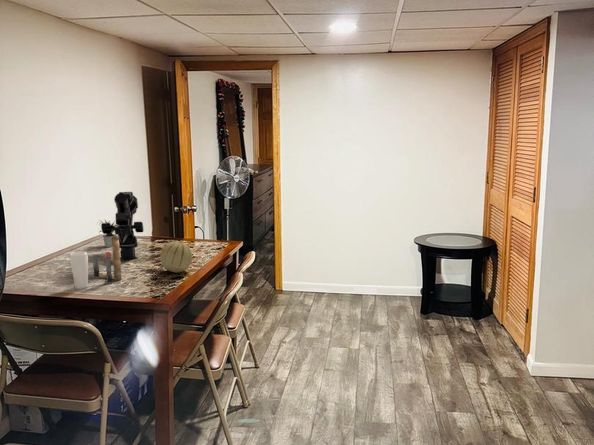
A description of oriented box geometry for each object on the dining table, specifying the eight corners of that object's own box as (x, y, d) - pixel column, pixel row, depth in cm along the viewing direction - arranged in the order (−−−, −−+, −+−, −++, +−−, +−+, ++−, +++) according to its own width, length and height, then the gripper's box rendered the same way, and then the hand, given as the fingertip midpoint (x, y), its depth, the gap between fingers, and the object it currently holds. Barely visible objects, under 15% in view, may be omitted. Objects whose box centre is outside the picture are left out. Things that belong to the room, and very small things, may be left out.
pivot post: (97, 274, 241) (96, 253, 239) (104, 276, 238) (102, 255, 237) (89, 276, 237) (87, 255, 235) (95, 278, 235) (94, 257, 233)
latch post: (110, 280, 233) (108, 250, 230) (116, 281, 230) (114, 251, 228) (102, 282, 229) (100, 252, 227) (108, 284, 227) (106, 253, 224)
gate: (97, 277, 236) (94, 233, 232) (102, 275, 238) (99, 232, 235) (118, 280, 231) (115, 236, 227) (123, 278, 234) (120, 234, 230)
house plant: (88, 248, 289) (86, 219, 286) (104, 242, 302) (102, 214, 299) (110, 250, 285) (108, 220, 282) (125, 244, 298) (124, 216, 295)
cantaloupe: (154, 272, 244) (152, 241, 241) (177, 265, 256) (176, 235, 253) (176, 278, 236) (175, 246, 233) (199, 270, 248) (198, 239, 245)
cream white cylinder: (76, 285, 226) (73, 251, 223) (92, 284, 226) (89, 251, 223) (70, 290, 219) (67, 255, 216) (87, 289, 220) (84, 255, 217)
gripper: (100, 206, 245) (98, 234, 237) (141, 205, 249) (141, 232, 240) (104, 219, 254) (102, 247, 246) (143, 218, 258) (143, 245, 249)
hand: (122, 242), depth 245 cm, fingers closed
